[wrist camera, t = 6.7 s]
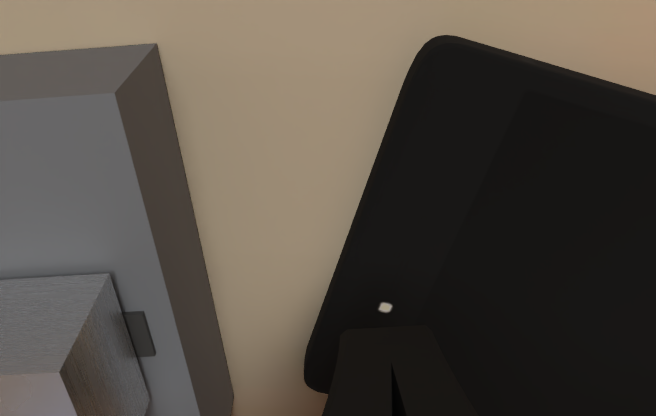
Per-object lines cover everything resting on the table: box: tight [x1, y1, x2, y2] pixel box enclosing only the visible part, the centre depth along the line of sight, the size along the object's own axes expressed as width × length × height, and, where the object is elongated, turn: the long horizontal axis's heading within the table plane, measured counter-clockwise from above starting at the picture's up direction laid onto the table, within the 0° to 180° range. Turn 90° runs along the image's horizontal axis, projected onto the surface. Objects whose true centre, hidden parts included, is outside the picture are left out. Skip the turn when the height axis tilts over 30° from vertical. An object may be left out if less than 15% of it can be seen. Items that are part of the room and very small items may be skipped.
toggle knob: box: [0, 273, 150, 416], centre depth 10 cm, size 2×3×2 cm
